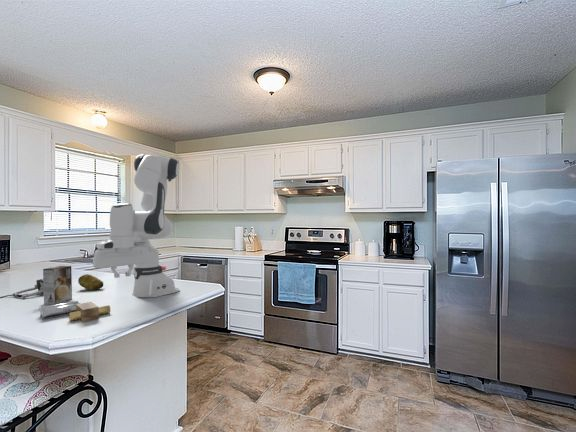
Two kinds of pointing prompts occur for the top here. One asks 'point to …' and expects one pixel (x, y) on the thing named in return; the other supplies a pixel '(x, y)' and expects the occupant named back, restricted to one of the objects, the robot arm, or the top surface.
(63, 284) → the coffee box
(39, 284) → the bike brake
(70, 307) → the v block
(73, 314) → the axle
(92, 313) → the slotted wooden block
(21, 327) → the top surface
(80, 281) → the potato
